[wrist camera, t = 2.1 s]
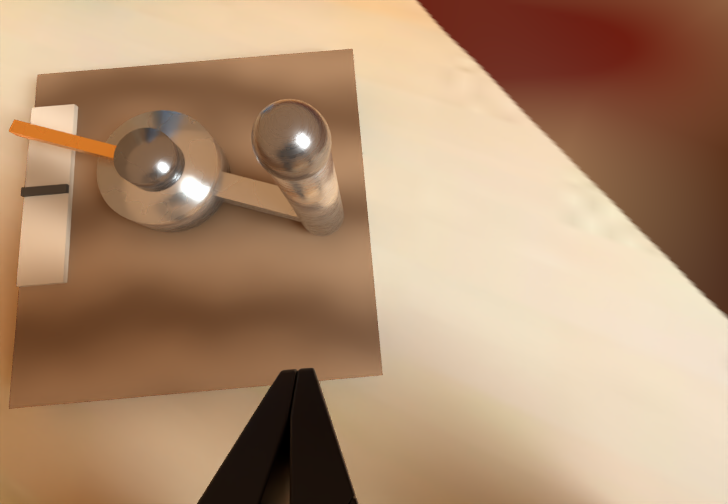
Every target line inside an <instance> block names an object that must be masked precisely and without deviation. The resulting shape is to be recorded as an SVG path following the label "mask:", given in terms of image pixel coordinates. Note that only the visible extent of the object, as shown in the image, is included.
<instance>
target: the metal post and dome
mask: <svg viewBox="0 0 728 504" xmlns="http://www.w3.org/2000/svg"><path fill="white" fill-rule="evenodd" d="M9 132H11V133H13V134H15V135H17V136H20V137H24V138H27V139H31V140H35V141H39V142H43V143H47V144H51V145H55V146H58V147H62V148H66V149H70V150H74V151H78V152H82V153H86V154H89V155H93V156H97V157H99V158H98V163H97V172H96V174H97V183H98V187H99V190H100V193H101V195H102V197H103V198H104V200H105V201H106V203H107V204H108V205H109V206H110V207H111V208H112V209H113V210H114V211H115V212H116V213H118V214H119V215H121V216H123V217H125V218H127V219H129V220H131V221H134V222H136V223H138V224H140V225H143V226H145V227H147V228H150V229H153V230H156V231H160V232H170V233H171V232H181V231H186V230H189V229H192V228H194V227H196V226H198V225H200V224H202V223H203V222H205V221H206V220H208V219H209V218H210V217H211V216H212V215H213V214H214V213H215V212H216V211H217V210H218V209H219V207H220V206H221V205H222V203H223V202H226V203H229V204H233V205H237V206H241V207H245V208H249V209H253V210H256V211H260V212H264V213H268V214H272V215H276V216H279V217H283V218H287V219H291V220H295V221H299V222H302V224H303V225H304V227H305V228H306V229H307V230H308V231H309V232H310V233H312V234H314V235H318V236H326V235H330V234H332V233H334V232H335V231H337V230H338V229H339V228H340V226H341V224H342V222H343V219H344V211H343V206H342V201H341V196H340V191H339V186H338V182H337V177H336V172H335V167H334V162H333V158H332V153H331V144H332V143H331V133H330V130H329V127H328V124H327V122H326V120H325V119H324V117H323V116H322V115H321V113H320V112H319V111H318V110H316V109H315V108H314V107H313V106H311V105H310V104H308V103H305V102H303V101H300V100H296V99H283V100H279V101H275V102H273V103H271V104H270V105H268V106H267V107H265V108H264V109H263V110H262V111H261V112H260V113H259V115H258V116H257V118H256V120H255V122H254V124H253V128H252V133H251V143H252V148H253V152H254V154H255V156H256V158H257V160H258V162H259V163H260V165H261V166H262V167H263V168H264V169H265V170H266V171H267V172H268V173H270V175H271V176H272V178H273V179H274V181H275V182H276V184H277V185H278V186H277V185H273V184H269V183H265V182H261V181H257V180H253V179H249V178H246V177H242V176H238V175H234V174H230V166H229V163H228V159H227V157H226V155H225V153H224V151H223V150H222V148H221V147H220V146H219V145H218V143H217V142H216V141H215V140H214V139H213V137H212V136H211V135H210V134H209V133H208V131H207V130H206V129H205V128H204V127H203V126H202V125H201V124H200V123H199V122H198V121H196V120H195V119H193V118H192V117H190V116H188V115H185V114H183V113H179V112H175V111H168V110H159V111H151V112H146V113H143V114H140V115H138V116H135V117H133V118H131V119H129V120H128V121H126V122H125V123H123V124H122V125H121V126H119V127H118V128H117V129H116V130H115V131H114V132H113V133H112V134H111V135H110V137H109V138H108V139H107V141H106V142H105V143H104V142H100V141H96V140H92V139H88V138H84V137H81V136H77V135H73V134H69V133H65V132H61V131H57V130H53V129H49V128H45V127H41V126H38V125H34V124H30V123H26V122H22V121H18V120H14V121H13V123H12V125H11V127H10V129H9Z"/></svg>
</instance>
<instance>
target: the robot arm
mask: <svg viewBox="0 0 728 504" xmlns="http://www.w3.org/2000/svg"><path fill="white" fill-rule="evenodd" d="M197 504H358V501H357V498H356V496H355V492H354V489H353V486H352V483H351V479H350V476H349V473H348V470H347V467H346V464H345V461H344V458H343V455H342V452H341V449H340V445H339V442H338V439H337V436H336V433H335V430H334V427H333V424H332V421H331V418H330V415H329V411H328V408H327V405H326V402H325V399H324V396H323V393H322V390H321V387H320V384H319V381H318V377H317V374H316V371H315V369H314V368H301V369H299V370H297V369H289V370H282V371H281V372H280V373H279V374H278V376H277V378H276V379H275V381H274V382H273V384H272V386H271V387H270V389H269V390H268V392H267V393H266V395H265V397H264V398H263V400H262V401H261V403H260V405H259V406H258V408H257V409H256V411H255V413H254V414H253V416H252V417H251V419H250V420H249V422H248V424H247V425H246V427H245V428H244V430H243V432H242V433H241V435H240V436H239V438H238V439H237V441H236V443H235V444H234V446H233V447H232V449H231V451H230V452H229V454H228V455H227V457H226V459H225V460H224V462H223V463H222V465H221V466H220V468H219V470H218V471H217V473H216V474H215V476H214V478H213V479H212V481H211V482H210V484H209V485H208V487H207V489H206V490H205V492H204V493H203V495H202V497H201V498H200V500H199V501H198V503H197Z"/></svg>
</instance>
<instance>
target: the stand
mask: <svg viewBox="0 0 728 504" xmlns="http://www.w3.org/2000/svg"><path fill="white" fill-rule="evenodd" d="M283 99H296V100H300V101H303V102H305V103H308V104H310V105H311V106H313V107H314V108H315V109H316V110H318V111H319V112H320V113H321V115H322V116H323V117H324V119H325V120H326V122H327V124H328V127H329V130H330V133H331V143H332V144H331V153H332V158H333V162H334V167H335V172H336V177H337V182H338V186H339V191H340V196H341V201H342V206H343V211H344V219H343V222H342V224H341V226H340V228H339V229H338V230H337V231H335V232H334V233H332V234H330V235H326V236H318V235H314V234H312V233H310V232H309V231H308V230H307V229H306V228H305V227H304V225H303V224H302V222H299V221H295V220H291V219H287V218H283V217H279V216H276V215H272V214H268V213H264V212H260V211H256V210H253V209H249V208H245V207H241V206H237V205H233V204H229V203H226V202H223V203H222V205H221V206H220V207H219V209H218V210H217V211H216V212H215V213H214V214H213V215H212V216H211V217H210V218H209V219H208V220H206V221H205V222H203V223H202V224H200V225H198V226H196V227H194V228H192V229H189V230H186V231H181V232H171V233H170V232H160V231H156V230H153V229H150V228H147V227H145V226H143V225H140V224H138V223H136V222H134V221H131V220H129V219H127V218H125V217H123V216H121V215H119V214H118V213H116V212H115V211H114V210H113V209H112V208H111V207H110V206H109V205H108V204H107V203H106V201H105V200H104V198H103V197H102V195H101V193H100V190H99V187H98V183H97V174H96V172H97V163H98V158H99V157H97V156H93V155H89V154H86V153H82V152H78V151H74V150H70V149H66V148H62V147H58V146H55V145H51V144H47V143H43V142H39V141H35V140H31V139H29V146H28V157H27V169H26V180H25V187H22V189H21V196H23V197H24V203H23V214H22V226H21V237H20V249H19V260H18V271H17V283H16V286H17V287H19V296H18V308H17V320H16V331H15V343H14V355H13V366H12V378H11V389H10V401H9V409H10V408H21V407H32V406H43V405H55V404H66V403H77V402H88V401H99V400H110V399H121V398H133V397H144V396H155V395H166V394H177V393H188V392H199V391H210V390H222V389H233V388H244V387H255V386H266V385H272V384H273V382H274V381H275V379H276V378H277V376H278V374H279V373H280V372H281V371H282V370H289V369H297V370H299V369H301V368H314V369H315V371H316V374H317V377H318V381H322V380H333V379H344V378H355V377H366V376H377V375H382V364H381V353H380V342H379V331H378V321H377V310H376V299H375V288H374V277H373V266H372V255H371V245H370V234H369V223H368V212H367V201H366V190H365V180H364V169H363V158H362V147H361V136H360V125H359V114H358V104H357V93H356V82H355V71H354V60H353V49H345V50H333V51H320V52H308V53H296V54H284V55H271V56H259V57H247V58H235V59H223V60H210V61H198V62H186V63H174V64H161V65H149V66H137V67H125V68H113V69H100V70H88V71H76V72H64V73H52V74H39V75H38V76H37V87H36V99H35V107H33V108H32V112H31V123H30V124H34V125H38V126H41V127H45V128H49V129H53V130H57V131H61V132H65V133H69V134H73V135H77V136H81V137H84V138H88V139H92V140H96V141H100V142H104V143H105V142H106V141H107V139H108V138H109V137H110V135H111V134H112V133H113V132H114V131H115V130H116V129H117V128H118V127H119V126H121V125H122V124H123V123H125V122H126V121H128V120H129V119H131V118H133V117H135V116H138V115H140V114H143V113H146V112H151V111H159V110H168V111H175V112H179V113H183V114H185V115H188V116H190V117H192V118H193V119H195V120H196V121H198V122H199V123H200V124H201V125H202V126H203V127H204V128H205V129H206V130H207V131H208V133H209V134H210V135H211V136H212V137H213V139H214V140H215V141H216V142H217V143H218V145H219V146H220V147H221V148H222V150H223V151H224V153H225V155H226V157H227V159H228V163H229V166H230V174H234V175H238V176H242V177H246V178H249V179H253V180H257V181H261V182H265V183H269V184H273V185H277V184H276V182H275V181H274V179H273V178H272V176H271V175H270V173H268V172H267V171H266V170H265V169H264V168H263V167H262V166H261V165H260V163H259V162H258V160H257V158H256V156H255V154H254V152H253V148H252V143H251V133H252V128H253V124H254V122H255V120H256V118H257V116H258V115H259V113H260V112H261V111H262V110H263V109H264V108H265V107H267V106H268V105H270V104H271V103H273V102H275V101H279V100H283ZM277 186H278V185H277Z"/></svg>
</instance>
